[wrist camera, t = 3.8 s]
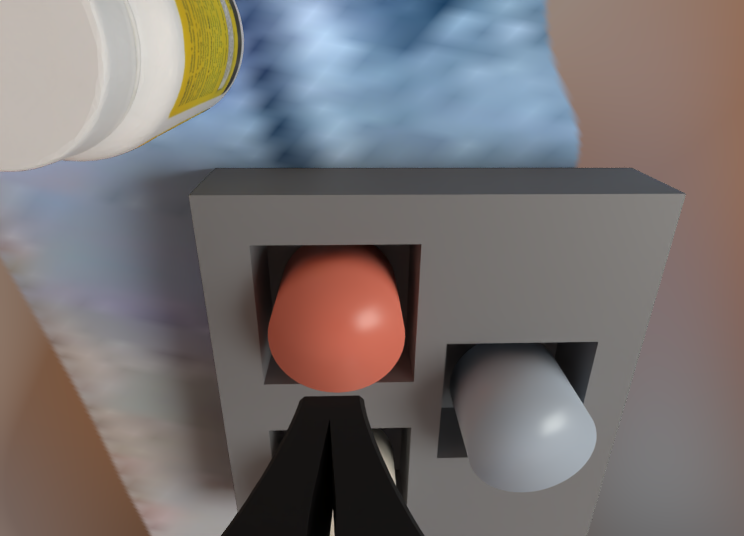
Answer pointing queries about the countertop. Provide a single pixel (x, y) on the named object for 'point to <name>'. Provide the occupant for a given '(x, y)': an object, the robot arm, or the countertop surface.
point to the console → (442, 310)
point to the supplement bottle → (108, 73)
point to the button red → (337, 318)
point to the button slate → (520, 417)
